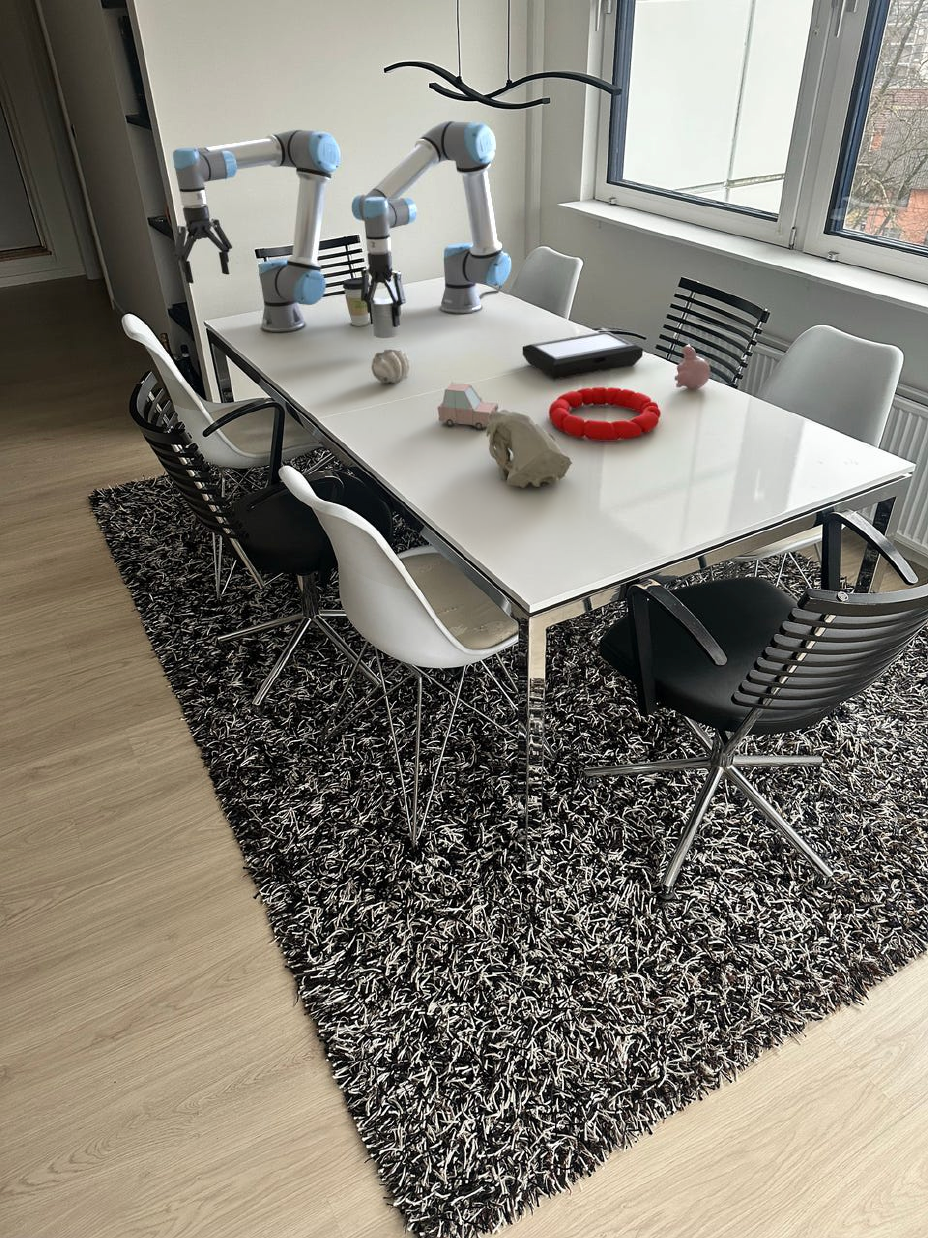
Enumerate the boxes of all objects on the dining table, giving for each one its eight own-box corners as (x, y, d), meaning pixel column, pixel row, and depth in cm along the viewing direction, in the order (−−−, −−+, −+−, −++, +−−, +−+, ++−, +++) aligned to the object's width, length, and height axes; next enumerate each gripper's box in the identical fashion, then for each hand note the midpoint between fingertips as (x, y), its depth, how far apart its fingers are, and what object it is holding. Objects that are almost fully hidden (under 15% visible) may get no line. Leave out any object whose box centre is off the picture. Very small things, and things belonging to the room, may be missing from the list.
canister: (370, 337, 293) (367, 303, 287) (378, 330, 299) (375, 296, 293) (394, 338, 291) (391, 304, 285) (401, 330, 298) (398, 297, 291)
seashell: (364, 381, 275) (361, 349, 270) (407, 372, 281) (405, 341, 275) (377, 391, 268) (374, 358, 262) (421, 382, 273) (420, 349, 268)
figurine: (665, 387, 264) (669, 347, 257) (693, 380, 268) (698, 340, 261) (686, 396, 257) (690, 355, 250) (714, 388, 262) (720, 348, 255)
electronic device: (553, 362, 266) (522, 343, 282) (552, 382, 270) (522, 363, 285) (643, 345, 277) (609, 328, 292) (641, 365, 280) (607, 347, 295)
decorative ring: (589, 435, 224) (684, 402, 234) (527, 398, 247) (617, 369, 256) (589, 461, 229) (683, 427, 238) (529, 422, 251) (617, 393, 260)
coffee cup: (372, 326, 323) (368, 283, 314) (345, 327, 323) (340, 284, 315) (374, 318, 331) (371, 276, 322) (348, 319, 331) (344, 277, 323)
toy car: (488, 432, 240) (488, 396, 234) (436, 426, 244) (434, 390, 239) (499, 419, 247) (499, 384, 241) (448, 413, 252) (447, 379, 246)
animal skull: (496, 517, 219) (521, 479, 201) (463, 429, 225) (484, 384, 207) (557, 503, 225) (586, 465, 206) (523, 417, 231) (549, 373, 212)
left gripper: (166, 213, 261) (181, 288, 273) (235, 200, 276) (247, 271, 288) (152, 210, 265) (167, 284, 277) (221, 197, 280) (233, 268, 292)
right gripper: (344, 251, 282) (352, 324, 294) (402, 256, 274) (407, 330, 287) (357, 246, 287) (363, 318, 300) (414, 251, 279) (418, 324, 292)
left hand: (208, 278), depth 283 cm, fingers open, 13 cm apart
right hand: (385, 324), depth 293 cm, fingers closed on canister, 8 cm apart
